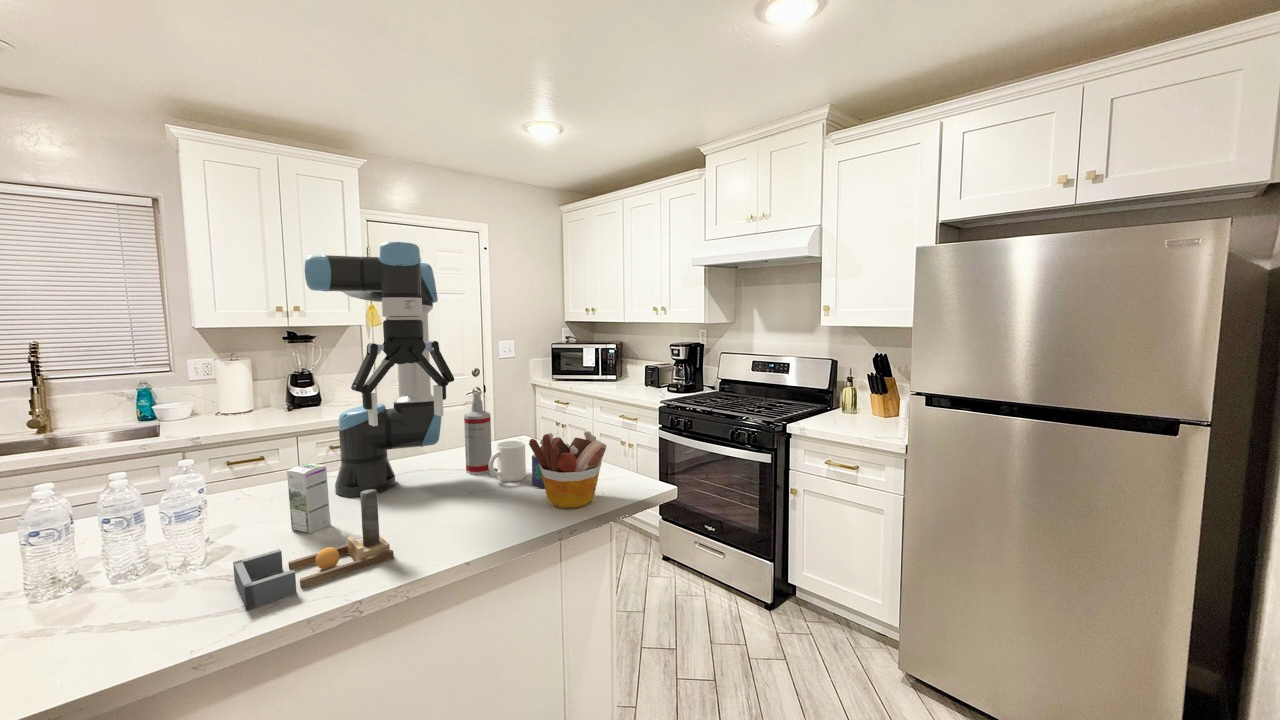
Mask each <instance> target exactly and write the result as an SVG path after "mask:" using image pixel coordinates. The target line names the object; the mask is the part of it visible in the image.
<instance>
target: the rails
mask: <svg viewBox="0 0 1280 720" xmlns="http://www.w3.org/2000/svg"><path fill="white" fill-rule="evenodd" d="M334 548H335V549H336V550H337V551H338V552H339V557H340V556H343V555H347V554H349V553H348V544H344V545H341V546H338V547H334ZM318 553H319V552H317V553H313V554H311V555H307V556H303V557H300V558H297V559H294V560H290V561H288V569H289V571H291V570H294V571H295V570H298V569H300V568H304V567H307V566H311V565H314V564H316V556H317V554H318ZM394 555H395V554H394V550H393V549H390V550H388V551H385V552H382V553H379V554H376V555H373V556H370V557H366V558H363V559H360V560H357V561H355V560H353V561H352V562H348V563H345V564H342V565H338V566H336V567H335V566H334V567H332V568H330V569H325V570H323V571H320V572H317V573H313V574H309V575H307V576H304V577H300V578H299V587H300V589H306V588H308V587H311V586H314V585H316V584H319V583H323V582H326V581H328V580H332V579H334V578H338V577H341V576H344V575H347V574H350V573H353V572H356V571H359V570H362V569H364V568H365V567H366V568H368V567H371V565H372V566H374V565H377V564H381V563H384V562H386V561H389V560H392V559H394ZM366 568H365V569H366Z"/></svg>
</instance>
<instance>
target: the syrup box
mask: <svg viewBox="0 0 1280 720" xmlns="http://www.w3.org/2000/svg"><path fill="white" fill-rule="evenodd" d="M286 476H287V477H286V478H287V488H288V499H289V501H288V502H289V512H290V521H291V522H290V523H291V524H290V525H291V531H294V532H299V533H305V534H312V533H314V532H317V531H319V530H321V529H324V528H325V527H328V526H331V513H330V499H329V498H330V497H329V487H328V473H327V466H326V465H325V464H324V465H323V464H314V463H305V464H301V465H297V466H294V467H292V468H290V469H286Z"/></svg>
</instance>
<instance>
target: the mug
mask: <svg viewBox="0 0 1280 720" xmlns="http://www.w3.org/2000/svg"><path fill="white" fill-rule="evenodd" d="M495 460H496V464H497V465H496V467H497V468H496V469H497V471H495V469H494V463H495ZM526 461H527V460H526V443H525V441H521V440H507V441H502V442H499V443H497V444H496V452H494V453H493V454H492V456H491V458H490V460H489V471H490V472H489V473H490V474H491V475H492V476H493V477H497V479H498V480H499V481H502V482H505V483H506V482H507V483H508V482H510V483H511V482H518V481H521V480H523V479H524V478H525V477H526V475H527V471H526V469H527V464H526V463H527V462H526Z"/></svg>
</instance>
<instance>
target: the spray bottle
mask: <svg viewBox="0 0 1280 720" xmlns="http://www.w3.org/2000/svg"><path fill="white" fill-rule="evenodd" d="M481 395H482V394H481V392H472V401H471V410H470V411H468V412H467V413H464V415H463V418H464V423H463V424H464V443H465V445H464V447H465V449H464V450H465V473H466V474H467V473H468V474H467V475H469V474H470V476H481V475H486V473H487V474H489V473H490V471H489V460H490V458H491V456H492V455H493V454H492V453H493V452H492V430H491V429H492V426H491V425H492V423H491V421H492V419H491V412H489V411H485V410H484V407H483V401H482V397H481Z"/></svg>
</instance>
